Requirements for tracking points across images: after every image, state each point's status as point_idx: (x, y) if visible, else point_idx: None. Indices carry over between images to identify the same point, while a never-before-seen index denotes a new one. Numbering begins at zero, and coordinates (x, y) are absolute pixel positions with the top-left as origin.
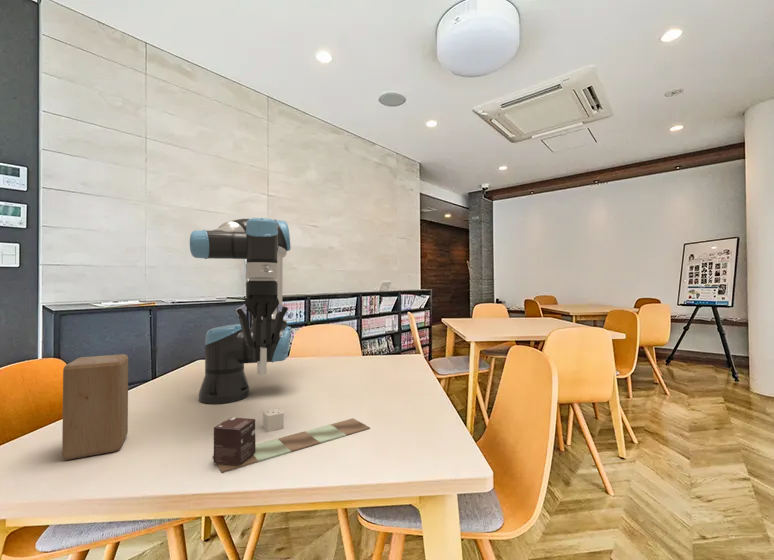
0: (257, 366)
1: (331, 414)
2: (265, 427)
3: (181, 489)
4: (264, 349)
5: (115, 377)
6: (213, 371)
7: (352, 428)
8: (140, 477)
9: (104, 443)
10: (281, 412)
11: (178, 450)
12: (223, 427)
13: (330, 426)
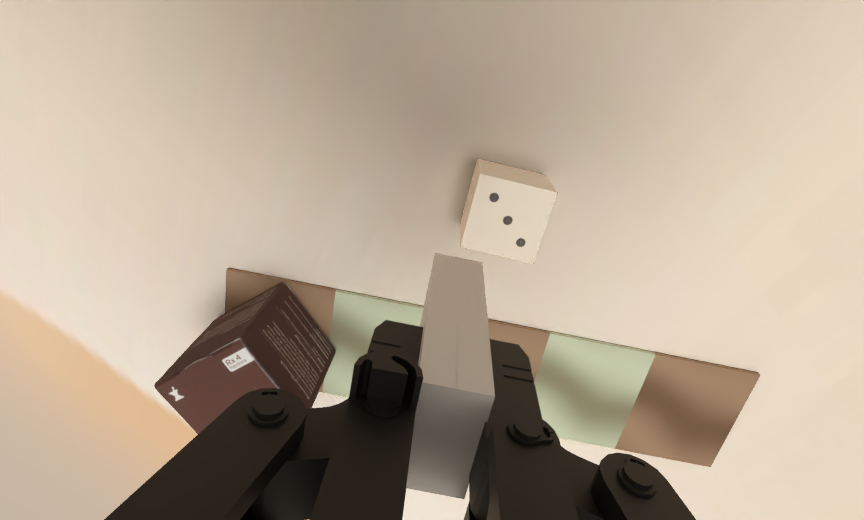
0: (430, 283)
1: (765, 267)
2: (467, 197)
3: (126, 369)
4: (439, 482)
5: None
6: None
7: (669, 432)
8: (32, 230)
9: None
10: (531, 250)
11: (143, 120)
12: (182, 412)
13: (640, 368)
